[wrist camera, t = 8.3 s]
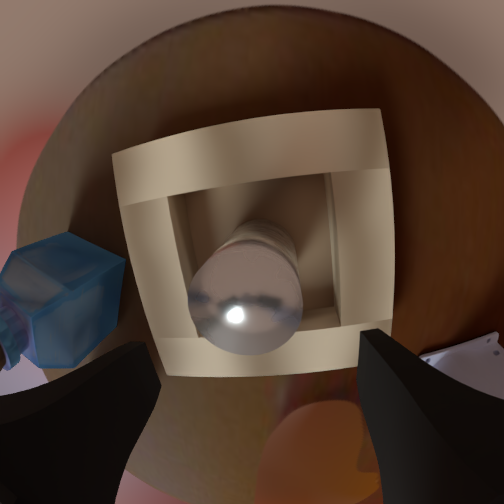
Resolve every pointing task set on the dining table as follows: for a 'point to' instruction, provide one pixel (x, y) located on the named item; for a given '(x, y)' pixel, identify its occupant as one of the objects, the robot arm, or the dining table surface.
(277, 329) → the metal pin
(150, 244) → the socket block
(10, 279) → the perfume bottle
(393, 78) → the dining table surface
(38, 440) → the robot arm
